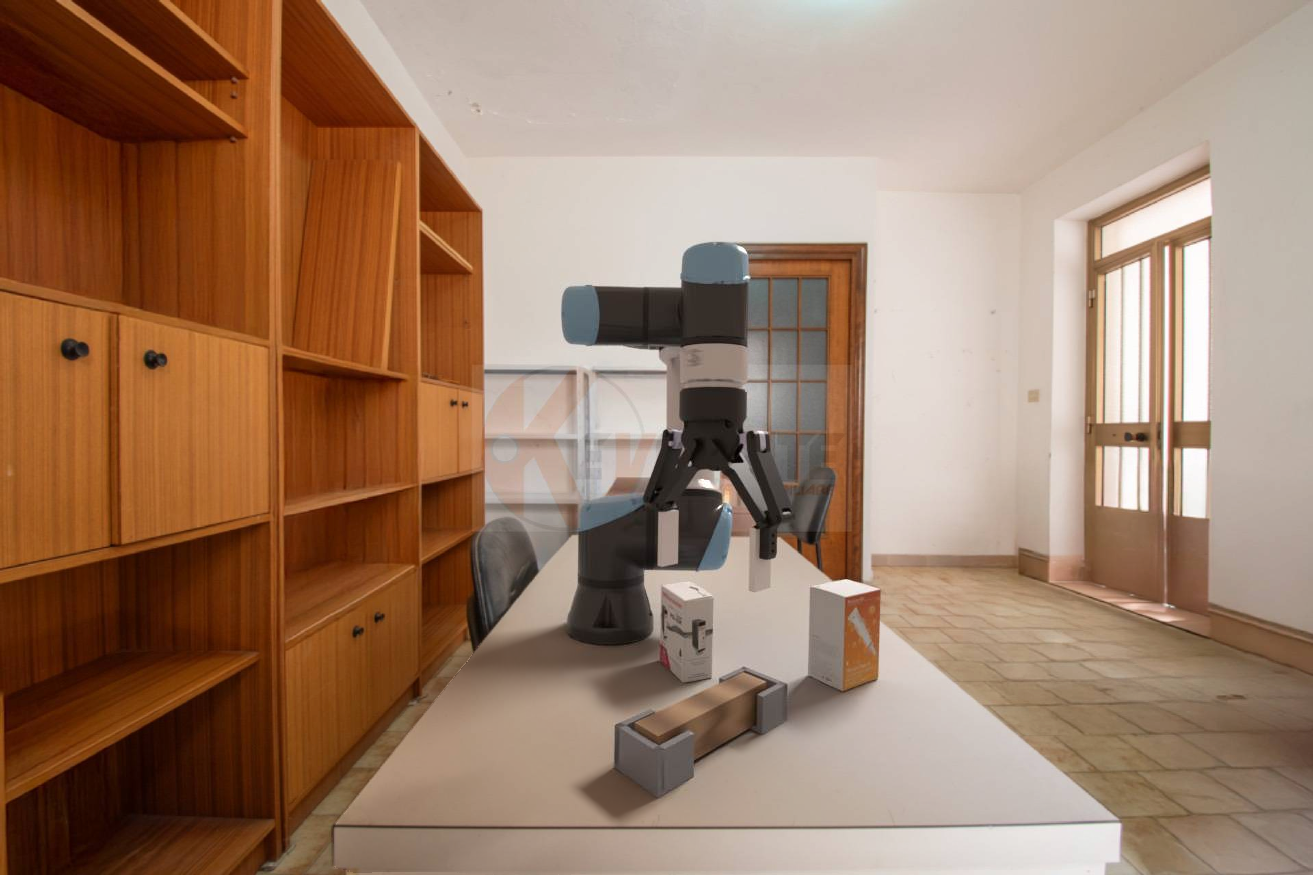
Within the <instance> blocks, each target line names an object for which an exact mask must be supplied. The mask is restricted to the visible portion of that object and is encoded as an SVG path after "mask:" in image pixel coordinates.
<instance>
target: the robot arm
mask: <svg viewBox="0 0 1313 875" xmlns="http://www.w3.org/2000/svg"><path fill="white" fill-rule="evenodd" d="M749 261H750V260H749V254H748V252H747V250H746V249H745V248H744V247H742V246H741V245H738V244H736V243H732V242H726V241H710V242H709V241H708V242H701V243H698V244H694V245H692V246H689V248H687V249H686V250H685V251H684V252H683V254H682V258H681V271H680V282H681V283H680V287H677V286H676V287H675V286H674V287H673V286H672V287H671V286H670V287H669V286H619V285H618V286H617V285H616V286H614V285H611V286H610V285H593V284H585V285H571V286H568V287H566V288H565V289H564V290H563V293H562V297H561V307H560V308H561V310H560V312H561V313H560V314H561V315H560V318H561V329H562V330H561V331H562V335H563V336H562V337H563V338H564V340H565V342H567V343H568V344H570V345H581V346H586V347H592V346H593V347H594V346H595V347H596V346H598V347H599V346H600V347H601V346H602V347H603V346H605V347H606V346H607V347H608V346H614V347H615V346H616V347H617V346H619V347H620V346H621V347H626V348H631V349H637V350H649V351H658V358H659V360H660V361H661V362H662V364H664V365H665V366H666V428H665V429H664V430H663V431H662V436H661V446H660V449H659V452H658V455H657V457H656V460H655V463H654V466H653V468H652V472H651V473H650V474H651V475H650V477H649V479H648V482H647V484H646V485H647V486H646V487H645V491H644V493H643V494H642V493H633V494H632V493H625V494H624V493H623V494H617V495H616V494H615V495H610V496H609V495H608V496H602V497H598V498H594V499H591V500H588V501H586V502H584V503H583V504H582V505H581V506H580V509H579V512H578V513H579V514H578V526H577V529H576V532H578V534H577V538H578V539H577V540H578V541H577V543H578V544H577V546H578V547H577V548H578V549H577V550H578V553H577V587H576V588H575V593H574V596H573V598H572V602H571V606H570V610H569V612H568V613H567V617H566V619H567V620H566V631H567V634H568V635H569V636H571V637H572V638H573V639H575V640H578V641H581V642H584V643H589V644H595V645H597V644H598V645H622V644H628V643H633V642H637V641H640V640H644V639H645V638H647V637H649V636H650V635H651V634H652V633H653V631H654V625H655V624H654V622H655V620H654V619H655V618H654V613H653V611H652V609H651V604H650V600H649V596H648V594H647V589H646V587H645V571H679V572H681V571H684V572H685V571H687V572H690V571H692V572H694V571H695V572H697V573H699V572H702V571H703V572H704V571H716V570H717V571H718V570H720V569H721V568H723V566H724V565H725V563H726V561H727V558H728V554H729V550H730V543H731V540H732V537H731V536H732V530H733V507H732V505H731V504H730V503H727V502H723V491H722V490H720V489H719V488H718V487H717V486H716V484H715V483H714V480H715V479H714V472H721V473H722V474H723V475H724V476H725V477H727V478H728V480H729V481H730V483H731V485H732V486H733V488H734V489H735V492H736V493H737V494H738V496H739V497H740V499H741V501H742V502H743V505H744V506H745V507H746V509H747V511H748V512H749V513H750V516H751V517H752V519H753V521H754V522H755V524H754V525H753V526H751V527H749V552H748V553H749V554H748V556H749V558H748V563H749V564H748V591H749V592H751V593H757V592H760V591H761V592H762V591H764V590H767V589H770V588H771V582H772V581H771V574H772V573H771V572H772V571H771V569H772V568H771V566H772V560H773V559H775V558H776V557H777V554H778V528H779V527H780V526H781V525H784V524H788V523H792V522H794V521H795V520H796V513H795V512H794V507H793V506H792V503H791V501H790V497H789V494H788V493H787V490H786V488H785V486H784V482H783V479H782V477H781V475H780V473H779V469H778V467H777V465H776V462H775V459H774V456H773V455H772V452H771V441H770V440H771V439H770V437H771V436H770V433H769V432H768V431H767V430H748V431H747V432H746V433H745V428H744V423H745V421H746V420H747V417H748V416H747V414H748V413H747V412H748V411H747V410H748V407H747V406H748V392H747V391H746V389H745V388H742V386H744V385H746V384H747V383H748V382H749V380H748V379H749V378H748V377H749V376H748V374H749V372H748V369H749V368H748V367H749V366H748V365H749V364H748V363H749V361H748V358H749V356H748V353H749V347H748V335H749V334H748V328H749V325H748V324H749V295H750V290H749V289H750V282H751V276H750V268H749V267H750V266H749ZM743 450H744V451H746V452H747V453H746V454H747V457H748V459H749V463H748V461H747V459H746V458H745V456H744V454H743V453H742V451H743ZM750 466H751V468H752V471H753V473H752V472H751V470H750ZM753 474H754V475H753Z"/></svg>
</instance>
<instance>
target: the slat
mask: <svg viewBox="0 0 1313 875" xmlns="http://www.w3.org/2000/svg"><path fill="white" fill-rule="evenodd" d="M765 690H766V681H764V680H761V679H759V678H756V677H754V676H751V675H749V674H746V673H744V672H742V673H740V674H738V675H736V676H734V677H732V678H730V679H727V680H725V681H723V682H721V683H719V682H718V683H716V684H715V685H713V686H711V687H707V688H706V689H704V690H702V691H699V692H697V693H695V694H693V695H691V696H689V697H687V698H685V699H682V700H679V701H678V702H675V703H674V704H671V705H669V706H667V707H665V708H663V709H660V710H658V711H657V712H656V711H655V713H654V714H652V715H650V716H648V717H645V718H643V719H641V720H639V721H637V722H635V731H636V732H638V733H639V734H641V735H642V736H644V737H646V738H647V739H649V740H651V741H652V742H654V743H656V744H657V745H661V744H663V743H665V742H667V741H669V740H670V739H672V738H674V737H676V736H678V735H680V734H682V733H684V732H686V731H688V730H689V731H691V732H693V733H694V761H695V760H698V759H699V758H701V757H702V756H705V755H706V754H708V753H709V752H711V751H713V750H714V749H716V748H718V747H720V746H721V745H723V744H726V743H727V742H728V741H729V740H732V739H734V738H736V737H737V736H739V735H740V734H742V733H744V732H745V731H747V730H748V729H750V728H751V727H752V726H754V725H756V724H757V694H759V693H761V692H763V691H765Z"/></svg>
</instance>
